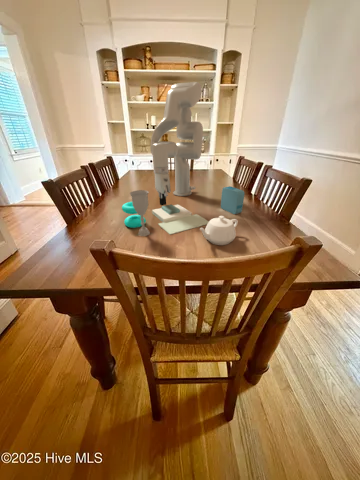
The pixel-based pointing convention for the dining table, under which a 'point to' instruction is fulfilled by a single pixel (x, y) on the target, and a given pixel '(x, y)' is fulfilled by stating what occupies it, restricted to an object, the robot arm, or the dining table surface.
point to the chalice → (141, 208)
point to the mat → (183, 224)
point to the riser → (166, 217)
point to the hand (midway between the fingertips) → (163, 204)
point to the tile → (170, 209)
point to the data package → (232, 200)
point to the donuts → (132, 216)
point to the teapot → (220, 230)
